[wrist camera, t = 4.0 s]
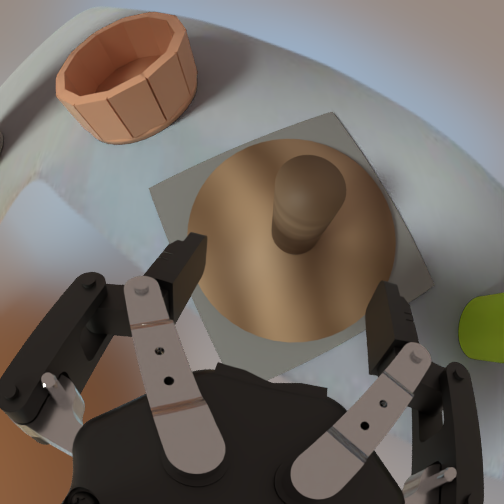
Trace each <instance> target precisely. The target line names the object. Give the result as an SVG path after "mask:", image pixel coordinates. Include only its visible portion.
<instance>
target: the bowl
mask: <svg viewBox="0 0 504 504" xmlns="http://www.w3.org/2000/svg"><path fill="white" fill-rule="evenodd" d="M196 89H197V69H196V65H195V62H194V58H193V54H192V50H191V47H190V43H189V39H188V36H187V32H186V29H185V27H184V26H183V25H182V23H181V22H180V21H179V19H178V18H177V17H176V16H175V15H170V14H164V13H158V12H148V13H143V14H138V15H134V16H129V17H125V18H123V19H120V20H118V21H116V22H114V23H112V24H110V25H108V26H106V27H104V28H102V29H100V30H98V31H96V32H95V34H94V33H93V34H92V35H91V36H89V37H88V38H87V39H86V40H85V41H84V42H82V43H81V44H80V45H79V46H78V47H77V48H76V49H75V50H74V51H72V52H71V54H69V56H68V58H67V59H66V61H65V63H64V64H63V66H62V68H61V69H60V71H59V73H58V74H57V76H56V97H57V98H58V99H59V100H60V101H61V103H62V104H63V105H64V106H65V107H66V108H67V110H68V111H69V112H70V113H71V114H72V115H73V116H74V118H75V119H76V120H77V121H78V122H79V123H80V124H81V125H82V127H83V128H84V129H85V130H87V131H88V132H90V133H91V134H92V135H93V136H94V137H95V138H96V139H97V140H99V141H101V142H104V143H107V144H113V145H123V144H130V143H134V142H138V141H141V140H144V139H146V138H148V137H151V136H153V135H155V134H157V133H158V132H160V131H162V130H163V129H165V128H166V127H168V126H169V125H171V124H172V123H173V122H174V121H176V120H177V119H178V118H179V117H180V116H181V115H182V114H183V113H184V111H185V110H186V109H187V108H188V106H189V105H190V103H191V102H192V100H193V98H194V96H195V93H196Z"/></svg>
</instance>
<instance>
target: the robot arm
mask: <svg viewBox="0 0 504 504" xmlns="http://www.w3.org/2000/svg"><path fill="white" fill-rule="evenodd" d="M2 146H3V135H2V133H1V132H0V153H1V149H2ZM207 240H208V238H207V236H206V235H202V234H198V233H194V232H190V233H189V235H188V236H187V237H186V238H185V240H184V241H181V240H176V241H174V242H172V243H171V244H169V245H168V246H167V247H166V248H165V250H164V251H163V252H162V253H161V254H160V256H159V258H157V259H156V261H155V262H154V263H153V264H152V265H151V267H150V268H149V269H148V270H147V272H146V273H145V274H144V275H143V276H137V277H134V278H132V279H130V280H128V281H127V282H126V284H125V285H114V284H106V281H105V278H104V277H103V275H101V274H99V273H96V272H89V273H84V274H82V275H80V276H79V277H77V278H76V279H75V281H74V282H73V283H72V284H71V285H70V286H69V288H68V289H67V290H66V291H65V292H64V294H63V295H62V296H61V297H60V298H59V300H58V301H57V302H56V303H55V304H54V306H53V307H52V308H51V309H50V311H49V312H48V313H47V314H46V316H45V317H44V318H43V320H42V321H41V322H40V323H39V325H38V326H37V327H36V329H35V330H34V331H33V333H32V334H31V335H30V337H29V338H28V339H27V341H26V342H25V343H24V345H23V346H22V348H21V349H20V351H19V352H18V353H17V355H16V356H15V358H14V359H13V361H12V362H11V364H10V365H9V366H8V368H7V369H6V371H5V373H4V374H3V375H2V377H1V379H0V408H1V409H2V410H3V411H4V412H5V413H6V414H7V415H8V416H9V418H10V419H11V420H12V421H13V422H14V423H15V424H16V425H17V426H18V427H19V428H20V429H22V430H23V431H24V432H25V433H26V434H28V435H29V436H31V437H32V438H33V439H35V440H36V441H37V442H39V443H41V444H51V445H53V446H55V447H57V448H58V449H60V450H61V451H63V452H65V453H67V454H68V455H70V456H72V457H73V478H72V484H71V488H70V491H69V493H68V494H67V496H66V498H65V499H64V501H63V502H62V504H483V501H484V480H483V479H484V478H483V459H482V447H481V438H480V429H479V422H478V415H477V409H476V403H475V397H474V392H473V387H472V382H471V378H470V374H469V372H468V370H467V369H466V368H465V367H464V366H463V365H462V364H460V363H457V362H452V363H450V364H449V365H448V366H447V367H446V368H444V367H441V366H439V365H437V364H435V363H433V362H431V356H430V354H429V352H428V351H427V349H426V348H425V347H423V346H422V345H420V344H419V341H418V337H417V333H416V328H415V324H414V322H413V321H414V320H413V316H412V313H411V309H410V305H409V304H408V302H407V301H406V299H405V298H404V297H402V296H400V293H399V289H398V286H397V284H395V283H391V282H387V281H383V280H382V281H380V282H379V284H378V286H377V288H376V290H375V292H374V294H373V296H372V298H371V300H370V302H369V304H368V306H367V308H366V312H365V324H366V335H367V348H368V364H369V374H370V375H377V376H378V379H377V380H376V381H375V382H374V383H373V384H372V385H371V387H370V388H369V389H368V390H367V391H366V392H365V393H364V394H363V395H362V396H361V398H360V399H359V400H358V401H357V402H356V403H355V404H354V405H353V406H352V407H351V408H350V409H349V410H348V411H347V410H346V409H345V408H344V407H343V406H342V405H340V404H339V403H338V402H336V401H335V400H333V399H331V398H329V397H327V388H324V387H318V386H313V385H308V384H303V383H271V382H268V381H266V380H264V379H262V378H260V377H258V376H256V375H254V374H252V373H250V372H248V371H246V370H244V369H240V368H236V367H233V366H229V365H226V364H222V363H217V366H216V369H215V370H211V369H209V370H198V371H193V372H192V371H191V368H190V365H189V363H188V360H187V358H186V355H185V352H184V349H183V347H182V344H181V341H180V338H179V336H178V333H177V330H176V327H175V324H176V322H177V320H178V318H179V316H180V315H181V313H182V311H183V309H184V307H185V306H186V304H187V302H188V300H189V299H190V297H191V295H192V293H193V291H194V290H195V288H196V286H197V284H198V283H199V281H200V279H201V277H202V275H203V273H204V270H205V265H206V253H207ZM114 335H117V336H129V337H133V342H134V346H135V351H136V355H137V359H138V363H139V367H140V372H141V375H142V379H143V383H144V386H145V390H146V394H144V395H143V396H140V397H138V398H136V399H134V400H132V401H130V402H128V403H126V404H123V405H121V406H119V407H117V408H115V409H113V410H110V411H108V412H106V413H104V414H101V415H99V416H97V417H95V418H92V419H91V420H89V421H88V422H86V423H85V424H84V425H83V422H82V418H83V413H84V410H85V404H84V401H83V399H82V397H81V395H80V394H81V392H82V390H83V388H84V387H85V385H86V383H87V381H88V379H89V377H90V376H91V374H92V372H93V370H94V368H95V367H96V365H97V363H98V361H99V360H100V358H101V356H102V354H103V353H104V351H105V349H106V347H107V346H108V344H109V342H110V341H111V339H112V337H113V336H114ZM407 406H408V407H411V408H412V474H411V476H410V477H409V478H408V479H407V481H406V482H405V484H404V488H403V490H402V491H401V489H400V487H399V486H398V484H397V483H396V481H395V480H394V478H393V477H392V476H391V474H390V473H389V471H388V470H387V468H386V467H385V465H384V464H383V462H382V461H381V460H380V458H379V457H378V455H377V454H376V452H375V451H374V449H375V448H376V447H377V446H378V444H379V443H380V442H381V441H382V440H383V438H384V437H385V436H386V434H387V433H388V432H389V430H390V429H391V428H392V427H393V425H394V424H395V422H396V421H397V420H398V418H399V417H400V416H401V414H402V413H403V411H404V410H405V408H406V407H407ZM442 410H443V411H444V424H443V422H442Z"/></svg>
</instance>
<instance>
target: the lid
mask: <svg viewBox="0 0 504 504" xmlns="http://www.w3.org/2000/svg"><path fill="white" fill-rule="evenodd" d="M190 232H194V233H198V234H202V235H206V236H207V238H208V240H207V253H206V265H205V270H204V273H203V275H202V277H201V279H200V281H199V283H198V284H199V286H200V288H201V290H202V292H203V293H204V294H205V296H206V297H207V299H208V300H209V301H210V303H211V304H212V305H213V306H214V307H215V308H216V309H217V310H218V311H219V312H220V314H222V315H223V316H224V317H225V318H227V319H228V320H229V321H230V322H232V323H233V324H235V325H236V326H238V327H240V328H241V329H243V330H245V331H247V332H249V333H251V334H254V335H256V336H259V337H262V338H266V339H269V340H273V341H281V342H308V341H314V340H319V339H323V338H326V337H329V336H332V335H334V334H336V333H339V332H341V331H343V330H345V329H346V328H348V327H350V326H351V325H353V324H354V323H356V322H357V321H358V320H359V319H361V318H362V317H363V316H364V315H365V312H366V308H367V306H368V304H369V302H370V300H371V298H372V296H373V294H374V292H375V290H376V288H377V286H378V284H379V282H380V281H382V280H383V281H387V282H388V280H389V278H390V274H391V271H392V268H393V264H394V258H395V247H396V238H395V228H394V223H393V219H392V214H391V211H390V209H389V206H388V203H387V201H386V199H385V197H384V195H383V193H382V191H381V190H380V188H379V187H378V185H377V184H376V183H375V181H374V180H373V179H372V177H371V176H370V175H369V174H368V173H367V172H366V171H365V170H364V169H363V168H362V167H361V166H360V165H359V164H358V163H356V162H355V161H354V160H352V159H351V158H349V157H348V156H347V155H345V154H343V153H341V152H339V151H338V150H336V149H334V148H331V147H329V146H326V145H324V144H320V143H317V142H313V141H308V140H301V139H277V140H270V141H265V142H261V143H258V144H255V145H252V146H249V147H247V148H245V149H243V150H241V151H239V152H237V153H235V154H234V155H232V156H231V157H229V158H228V159H226V160H225V161H224V162H223V163H222V164H220V165H219V166H218V167H217V168H216V169H215V170H214V171H213V172H212V173H211V175H210V176H209V177H208V178H207V180H206V181H205V183H204V184H203V185H202V187H201V189H200V191H199V192H198V194H197V196H196V198H195V201H194V204H193V206H192V209H191V213H190V217H189V222H188V232H187V236H188V235H189V233H190Z"/></svg>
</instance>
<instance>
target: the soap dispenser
mask: <svg viewBox="0 0 504 504" xmlns="http://www.w3.org/2000/svg"><path fill="white" fill-rule="evenodd" d="M458 336H459V343H460V346H461V348H462V350H463V352H464V353H465V354H466V355H467V356H468V357H469V358H471V359H476V360H483V361H490V362H498V363H504V293H499V294H493V295H486V296H480V297H476V298H474V299H472V300H471V301H470V302H469V303H468V304H467V305H466V307H465V309H464V310H463V312H462V315H461V318H460V322H459V329H458Z"/></svg>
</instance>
